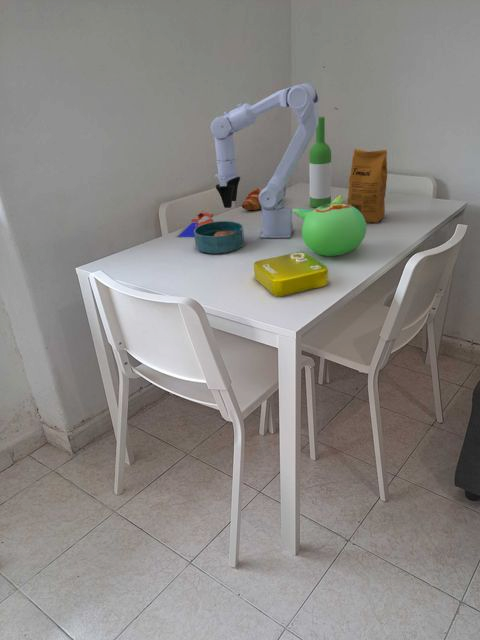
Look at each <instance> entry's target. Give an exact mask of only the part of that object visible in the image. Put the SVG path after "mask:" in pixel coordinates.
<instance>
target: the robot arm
mask: <svg viewBox="0 0 480 640" xmlns="http://www.w3.org/2000/svg"><path fill="white" fill-rule="evenodd" d="M319 101H320V97H319V95H318V92H317V89H316V87H315V86H314V85H313V84H312V83H311V82H307V81H306V82H301V83H299V84H296V85H293V86H290V87H287V88H284V89H281V90H277V91H276V92H274V93H273V94H271V95H269V96H267V97H265V98H263V99H262V100H260V101H258V102H256V103H253V105H251V104H250V103H243V102H240V103H239V104H237V107H236V108H234V109H232V110H230V111H228V110H226V111H224V112H223V115H221V116H217V117H215V118H214V119H213V120H212V121H211V123H210V133H211V134H212V136H213V138H214V147H215V155H216V166H217V173H216V174H215V175H214V178H217V179H218V181H219V184H216V185H215V189H216V191H217V192H218V194H219V196H220V198H221V201H222V205H223V207H224V209H231V208H232V205H233V202H236V201H237V197H238V187H239V183H240V181H241V176H238V173H237V162H236V150H235V141H234V139H235V138H234V134H235V133H237V132H240V131H241V130H244V129H246V128H248V127H250V126H252V125H253V124H255V123H256V120H257V117H258V116H261V115H263V114H265V113H267V112H269V111H272V110H273V109H275V108H278V107H282V108H289V107H290V109H291V110H292V112H293V113H294V115H295V117H296V119H297V120H296V121H297V123H298V127H297V129H296V131H295V132H294V135H293V137H292V138H291V140H290V142H289V145H288V146H287V148H286V149H285V153H284V154H283V155H282V158H281V160H280V162H279V164H278V166H277V168H276V170H275V171H274V173H273V175H272V177H271V179H269V181H268V183H267V185H266V186H265V187H264V188H262V189H263V190H261V192H260V193H259V202H260V204H261V207H262V209H261V220H262V221H261V222H262V232H261V234H260V238H261V239H282V238H283V239H286V238H289V239H290V238H291V236H292V233H293V231H294V229H293V227H294V224H293V209H292V206H291V205H286V204H285V201H284V200H283V199H284V198H285V196H286V194H287V186H288V185H289V182H290V179H291V178H292V176H293V174H294V173H295V170H296V168H297V166H298V164H299V163H300V161H301V159H302V157H303V155H304V153H305V151H306V149H307V148H308V146H309V144H310V142H311V140H312V138H313V137H314V135H315V134H316V129H317V127H318V123H319V122H318V117H319V103H320V102H319Z"/></svg>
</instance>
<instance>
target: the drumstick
mask: <svg viewBox="0 0 480 640" xmlns="http://www.w3.org/2000/svg"><path fill="white" fill-rule="evenodd" d="M232 233H235V232H233V231H219V232H216V233H215V234H214V236H223V235H228V234H232Z"/></svg>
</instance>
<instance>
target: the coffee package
mask: <svg viewBox="0 0 480 640" xmlns="http://www.w3.org/2000/svg"><path fill="white" fill-rule="evenodd" d="M387 154H388V152H387V149H381V150H371V151H367V150H362V149H357V148H354V149H353V155H352V160H351V167H350V175H349V181H348V193H347V203H346V204H347V205H350V206H353V207H355V208H356V209H357V210H359V211H360V212H361V214H362V215H363V217H364V219H365V222H366V224H367V223H368V224H369V223H370V224H372V223H374V224H375V223H376V224H377V223H379V222H380V221H381V220H382V219H383V218H384V217H385V212H386V206H385V199H386V192H387V179H388V168H387V167H388V162H387V161H388V159H387Z"/></svg>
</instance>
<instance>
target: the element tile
mask: <svg viewBox="0 0 480 640" xmlns="http://www.w3.org/2000/svg"><path fill="white" fill-rule="evenodd" d="M328 268H329V267H327V266H326V265H325V264H323V263H321V262H320V261H319V260H318V259H315V258H314V257H312V256H311V255H309V254H308V253H306V252H305V251H304V252H303V251H296V252H292V253H288V254H282V255H279V256H274V257H269V258H265V259H259V260H256V261H254V263H253V272H254V279H255V280H256V281H257V282H258V283H259V284H260V285H261V286H262V287H263V288H265V289H266V290H267V291H268V292H269V293H270V294H271V295H273V296H274V297H286V296H290V295H293V294H294V295H295V294H298V293H301V292H302V293H303V292H305V291H310V290H314V289H319V288H323V287H325V286H327V285H328V283H329V269H328Z"/></svg>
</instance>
